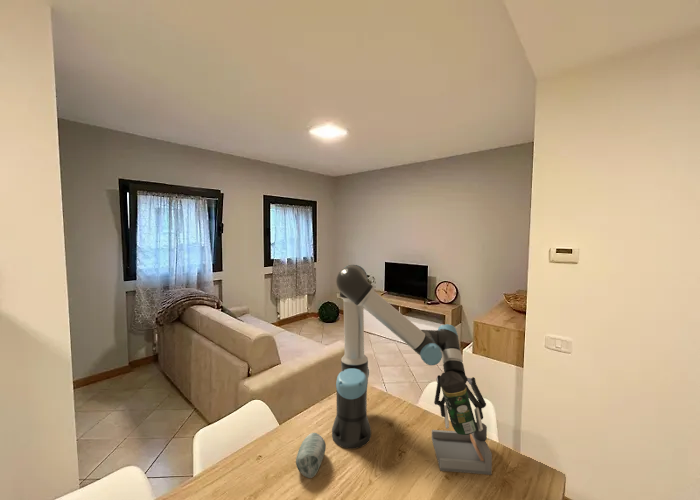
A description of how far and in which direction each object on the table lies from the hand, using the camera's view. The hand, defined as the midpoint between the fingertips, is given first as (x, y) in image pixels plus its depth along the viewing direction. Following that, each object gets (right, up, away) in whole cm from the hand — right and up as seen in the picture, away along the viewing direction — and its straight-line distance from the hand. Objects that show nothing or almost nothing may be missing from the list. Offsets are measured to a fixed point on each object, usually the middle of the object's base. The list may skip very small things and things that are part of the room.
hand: (464, 428), depth 95 cm
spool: (-51, -12, -1) cm, 53 cm away
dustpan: (0, -12, +4) cm, 12 cm away
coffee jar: (+1, -2, +3) cm, 4 cm away
